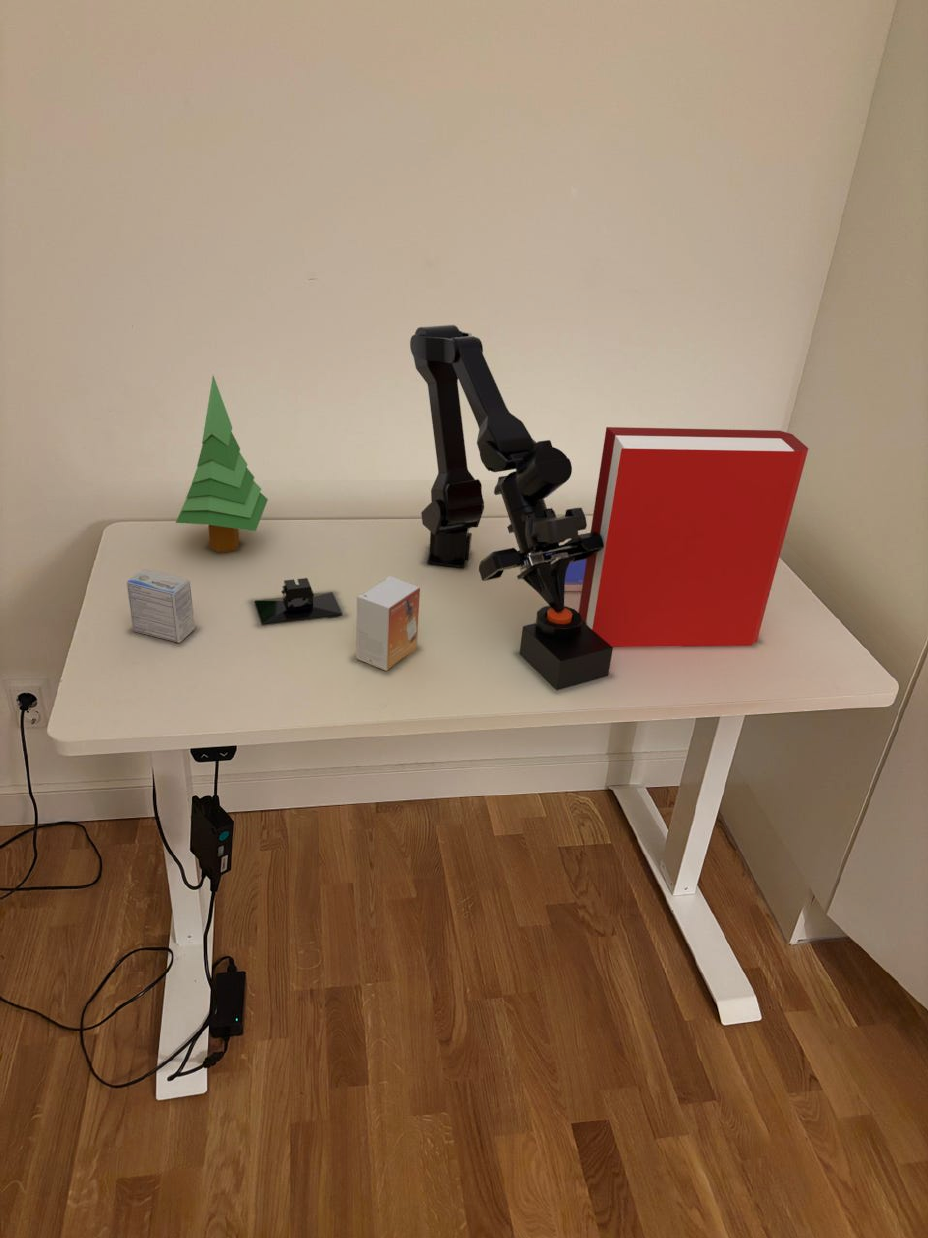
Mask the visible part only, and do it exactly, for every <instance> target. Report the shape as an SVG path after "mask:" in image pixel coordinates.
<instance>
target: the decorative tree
mask: <svg viewBox="0 0 928 1238" xmlns="http://www.w3.org/2000/svg"><path fill="white" fill-rule="evenodd" d="M210 385H211V386H210V391H209V396H208V403H207V410H206V415H205V416H206V417H205V422H204V427H203V428H204V429H203V434H202V440H201V444H202V445H201V450H200V453H199V457H198V461H197V464H196V470H195V473H194V476H193V478H192V482H191V484H190V487H189V490H188V492H187V495H186V497H185V500H184V503H183V505H182V507H181V509H180V511H179V514H178V516H177V518H176V521H175V524H190V525H208V538H209V549H211V550H213V551H216V552H218V553H219V554H221V553H222V554H223V553H230V552H235V551H236V550H237V549H238V547H239V545H240V537H239V535H240V534H239V533H240V532H239V530H243V531H250V532H256V531H257V529H258V527H259V524H260V522H261V519H262V516H263V513H264V510H265V508H266V506H267V503H268V501H269V499H268V498H267V497H266V496H265V495H264V494H263V493H262V492H261V491H262V488H261V487H260V485H258V483H256V482H255V476H254V475H253V473H252V472H251V471H250V470H249V468H248V463H247V461H246V460H245V458H244V457H243V455H242V453H241V447H240V445H239V444H238V442H237V439H236V438H235V435H234V434H233V432H232V430H233V425H232V423H231V420H230V417H229V415H228V412H227V408H226V406H225V403H224V401H223V398H222V395H221V392H220V389H219V387H218V384H217V382H216V379H215V376H214V375H212V378H211V384H210Z"/></svg>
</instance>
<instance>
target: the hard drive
mask: <svg viewBox="0 0 928 1238" xmlns="http://www.w3.org/2000/svg"><path fill="white" fill-rule="evenodd" d="M549 554H550V553H549ZM549 554H546V555H549ZM551 554H552V553H551ZM585 566H586V559H585V560H581V561H577V562H572V563H570V564H569V565H568V568H567V570H566V576H565V591H564V592H582V586H583V579H584V573H585Z"/></svg>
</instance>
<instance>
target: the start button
mask: <svg viewBox="0 0 928 1238" xmlns="http://www.w3.org/2000/svg"><path fill="white" fill-rule="evenodd" d="M547 619H548V620H549V621H550V622H553V623H556V624H567V623H571V621H572V612H571V611H570V610H568V609H566V608H564V610H563V611H561V612H555V611H554V609H553V608H550V609H549V610H548V612H547Z"/></svg>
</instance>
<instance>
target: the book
mask: <svg viewBox="0 0 928 1238" xmlns="http://www.w3.org/2000/svg"><path fill="white" fill-rule="evenodd" d="M809 449H810V448H809V447H808V446H807V445H806V444H804V443H803V442H802V441H801V440H800V439H799V438H798V437H796V436H795V435H794V434H793V433H790V432H786V431H782V430H777V429H776V430H771V429H769V430H768V429H723V428H722V429H721V428H719V429H718V428H676V427H674V428H671V427H625V426H623V427H622V426H621V427H620V426H606V428H605V434H604V439H603V447H602V453H601V461H600V466H599V467H600V468H599V474H598V480H597V487H596V494H595V500H594V507H593V513H592V520H591V527H590V532H597V533H598V534H600V535H601V537H602V539H603V544H604V547H603V548H602V549H601V550H600V551H599V552H597V553H596V554H594V555H593V556H591V557H589V558H588V559H586V566H585V573H584V579H583V586H582V591H580V592H581V593H580V601H579V607H578V611H577V612H578V613H579V614H581V617H582V622H584V623H585V624H586V625H587V626H588V627H589V628H591V629H592V630H593V631H594V632H595V633H597V634H598V635H599V636H600V637H601V638H602V639H604V640H605V641H606V642H607V643H608V644H609V645H611V646H612V647H613V648H640V647H641V648H645V647H646V648H648V647H649V648H650V647H651V648H653V647H732V646H733V647H738V646H739V647H741V646H742V647H743V646H744V647H746V646H747V647H749V646H753V645H754V644H756V643H757V642H758V639H759V634H760V631H761V627H762V624H763V620H764V616H765V612H766V608H767V605H768V601H769V597H770V594H771V591H772V586H773V582H774V579H775V575H776V572H777V568H778V564H779V560H780V555H781V552H782V549H783V545H784V541H785V537H786V533H787V531H788V527H789V524H790V523H789V522H790V519H791V516H792V512H793V508H794V504H795V500H796V496H797V493H798V489H799V485H800V482H801V478H802V476H803V470H804V467H805V463H806V459H807V456H808V452H809Z"/></svg>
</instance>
